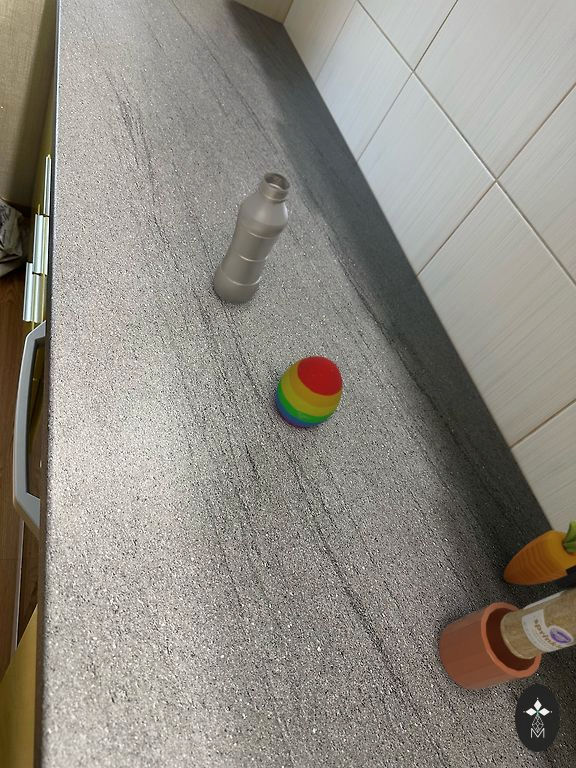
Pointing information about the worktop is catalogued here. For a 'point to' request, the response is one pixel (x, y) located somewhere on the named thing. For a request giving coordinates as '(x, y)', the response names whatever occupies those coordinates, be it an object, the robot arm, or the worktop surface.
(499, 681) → the terracotta pot
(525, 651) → the sprinkles bottle
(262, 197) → the plastic bottle
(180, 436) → the worktop surface
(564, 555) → the carrot
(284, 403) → the decorative egg
